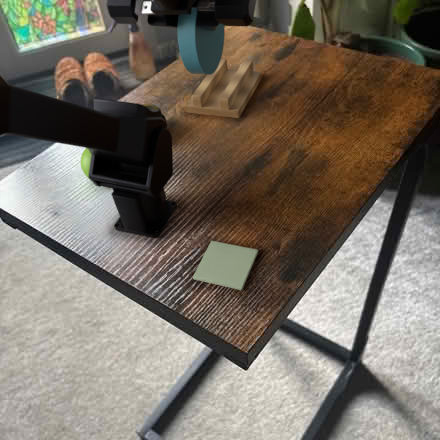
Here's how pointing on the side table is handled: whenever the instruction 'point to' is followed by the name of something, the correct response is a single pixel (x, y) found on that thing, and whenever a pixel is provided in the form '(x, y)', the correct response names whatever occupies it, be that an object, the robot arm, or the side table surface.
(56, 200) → the side table surface
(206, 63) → the disc
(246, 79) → the rack
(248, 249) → the felt pad
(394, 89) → the side table surface
